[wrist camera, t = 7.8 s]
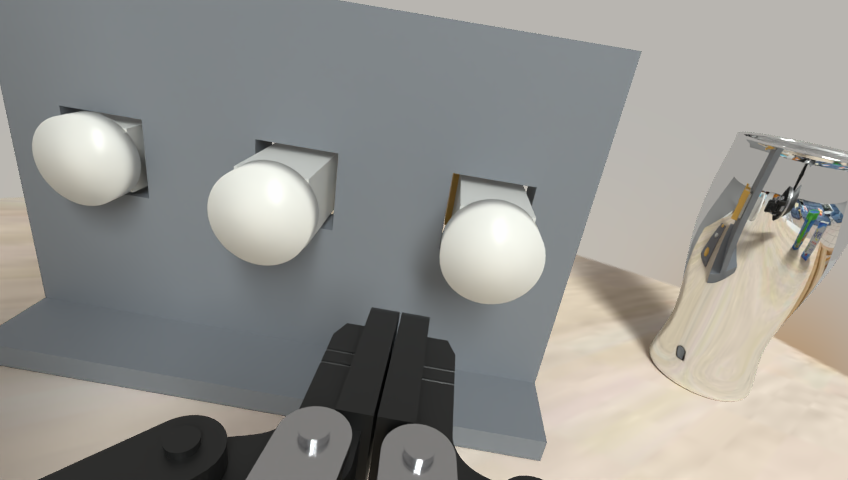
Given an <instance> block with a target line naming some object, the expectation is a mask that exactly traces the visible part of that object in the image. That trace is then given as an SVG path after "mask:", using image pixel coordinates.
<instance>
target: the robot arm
mask: <svg viewBox="0 0 848 480" xmlns="http://www.w3.org/2000/svg"><path fill="white" fill-rule="evenodd" d="M399 316H400V312H397V311H392V310H386V309H380V308H374V307H372V308H371V310H370V313H369V315H368V318H367V321H366V324H365V326H361V325H355V324H350V323H347V324H345V325H344V326H343V327H341V328H340V329H339V330H338V331H336V332H335V333H334V334H333V336H332V338H331V340H330V342H329V344H328V347H327V350H326V351H325V353H324V355H323V358H322V360H321V363H320V364H319V366H318V369H317V371H316V373H315V375H314V377H313V380H312V382H311V384H310V386H309V388H308V390H307V393H306V395H305V397H304V399H303V401H302V404H301V406H300V408H299V410H296V411H294V412H292V413H290V414H289V415H287V416H286V417H285V418H284V419H283V420H282V421H281V422H280V424H279V425H278V426H277V428H276V429H274V430H272V431H269V432H266V433H262V434H255V435H245V436H235V437H227V434H226V431H225V429H224V427H223V426H222V425H221V424H220V423H219V422H218V421H216V420H215V419H212V418H210V417H206V416H200V415H189V416H182V417H178V418H175V419H172V420H169V421H167V422H164V423H162V424H160V425H158V426H156V427H153V428H151V429H149V430H147V431H145V432H142V433H140V434H138V435H136V436H133V437H131V438H129V439H127V440H125V441H122V442H120V443H118V444H116V445H114V446H111V447H109V448H107V449H105V450H103V451H100V452H98V453H96V454H94V455H92V456H89V457H87V458H85V459H83V460H81V461H78V462H76V463H74V464H72V465H70V466H67V467H65V468H63V469H61V470H59V471H56V472H54V473H52V474H50V475H47V476H45V477H43V478H41V479H39V480H367V477H368V472H369V478H368V480H490V479H488V478H486V477H484V476H482V475H480V474H479V473H477V472H475V471H474V470H473V469H471V468H470V467H469V466H468V465H467V464H466V463H465V462H464V461H463V460H462V459H461V458H460V456H459V454H458V453H457V451H456V449H455V446H454V443H453V409H454V382H455V353H454V351H453V350H452V348H451V346H450V344H449V342H448V341H447V340H442V339H436V338H430V337H428V330H429V322H430V317H427V316H421V315H415V314H409V313H404V312H402V315H401V319H400V323H399ZM398 323H399V327H398ZM397 330H398V331H397ZM369 468H370V471H369ZM508 480H542V479H540V478H536V477H532V476H517V477H513V478H511V479H508Z"/></svg>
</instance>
